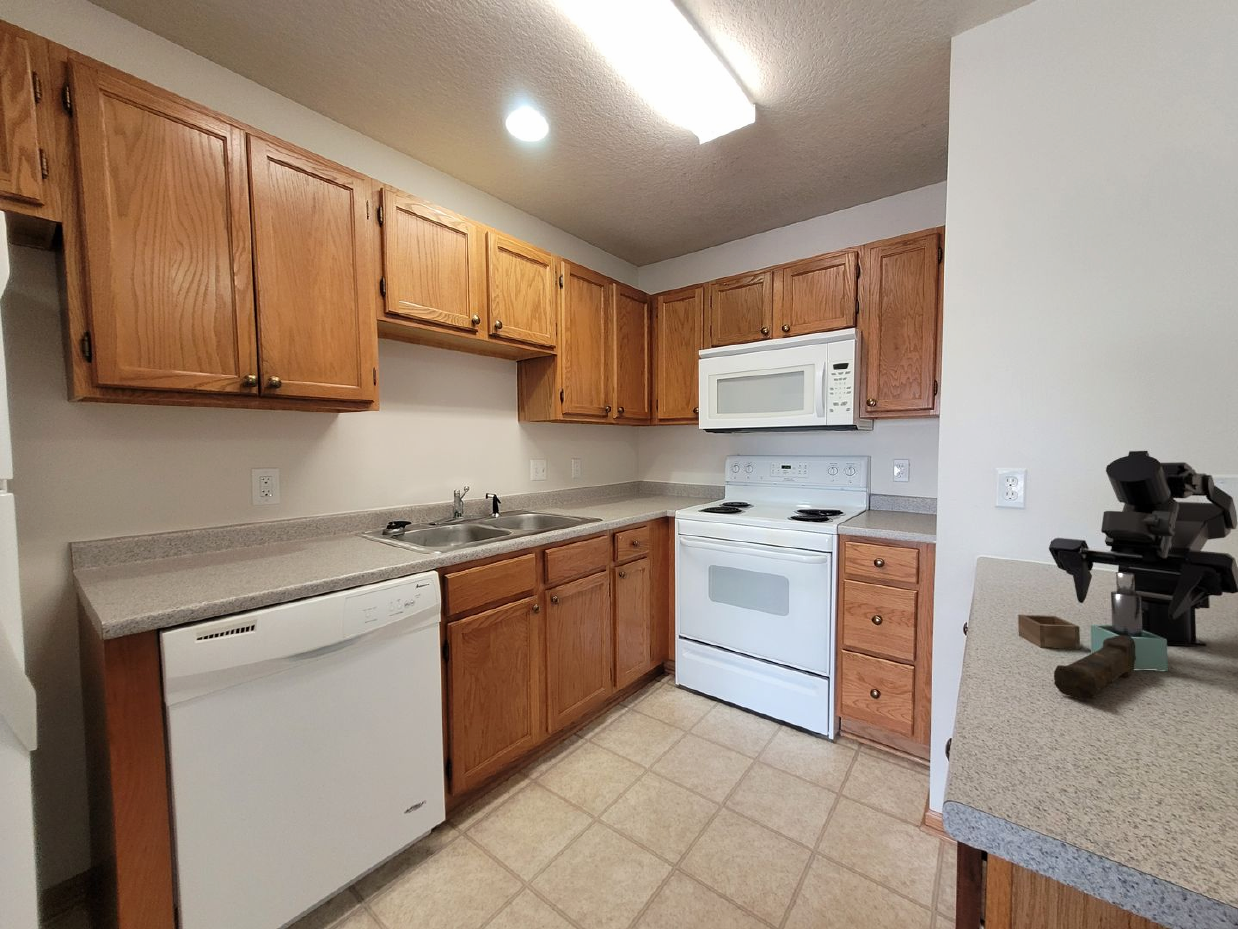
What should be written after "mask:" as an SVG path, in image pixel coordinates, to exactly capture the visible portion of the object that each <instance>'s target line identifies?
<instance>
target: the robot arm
mask: <svg viewBox="0 0 1238 929" xmlns="http://www.w3.org/2000/svg"><path fill="white" fill-rule="evenodd" d="M1105 473H1106V475H1107V477H1108V480H1109V481H1110V482H1109V483H1110V484H1111V487H1112V490H1113V493H1114V495H1115V497H1116V499H1117V501H1118V502H1119V503H1124V505H1123V508H1122V511H1118V510H1105V511H1104V512H1103V516H1102V522H1101V529H1100V532H1101V533H1102V534H1105V539H1104V543H1105V545H1106V547H1110V550H1105V549H1097V548H1096V549H1094V548H1089V546H1088V543H1087V541H1086V540H1085V539H1076V538H1064V537H1056V538H1054V539H1052V540H1051V541H1050V543H1049V547H1048V551H1049V552H1050V554H1051V556H1052V558H1053V560H1054V562H1055V564H1056V567H1057V568H1058V569H1060V570H1063V571H1064V572H1066V574H1068V575H1070V576H1072V579H1073V583H1074V590H1075V595H1076V598H1077V599H1076V600H1077V601H1078V604H1079V603H1080V604H1083V603H1084V602H1085V600H1086V598H1087V596H1088V592H1089V588H1090V586H1091V582H1092V578H1093V575H1092V573H1091V571H1092V570H1093V567H1094V564H1102V565H1111V566H1117V567H1118V569H1117V572H1126V573H1132V574H1134V584H1135V594H1139V595H1141V611H1142V630H1144V631H1146V632H1149V633H1152V634H1154V635H1157V636H1159V637H1162V638H1165V639H1167V646H1168V645H1169V646H1171V645H1173V646H1174V645H1175V646H1199V647H1205V646H1206V647H1207V642H1205V641H1202V640H1200V639H1198V638H1197V627H1196V626H1197V625H1196V624H1197V621H1196V610H1200V609H1210V608H1211V604H1210V603H1211V601H1210V597H1211V596H1214V597H1217V596H1218V597H1221V596H1222V595H1223V593H1226V594H1227V593H1228V594H1236V593H1238V565H1237V562H1236V558H1235V557H1233V556H1232V555H1231V554H1230V553H1227V552H1226V553H1225V552H1216V551H1215V552H1214V551H1205V550H1204V551H1203V547H1204V546H1205V544H1206V543H1207V542H1208V540H1217V539H1224V538H1227V536H1228V535H1230V534H1231V531H1232V530H1236V529H1237V525H1238V515H1237V511H1236V510H1237V509H1236V506H1235V505H1236V504H1235V500H1234V498H1233V497H1232V496H1231V495H1230V494H1228V493H1227V492H1225V491H1224V490H1222V489H1221V488H1219V487H1218V486H1216V485H1215V482H1214V478H1213V475H1211V474H1206V473H1198V472H1196V470H1195V469H1193V467H1192V466H1191V465H1190V464H1188V463H1186V462H1184V461H1183V462H1182V461H1180V462H1179V461H1178V462H1161V461H1159V460H1158V459H1157V458H1155V457H1152V456H1150V453H1149V452H1148V450H1129V451H1128V455H1126V456H1123V457H1119V458H1116V459H1115V460H1113V461H1112V462H1110V463H1109V464H1107V466H1106V468H1105ZM1191 496H1192V497H1193V496H1194V497H1198V496H1199V497H1205V499H1207V501H1209V502H1197V501H1195V502H1194V501H1193V502H1192V501H1177V500H1176V499H1187V498H1189V497H1191Z"/></svg>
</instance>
